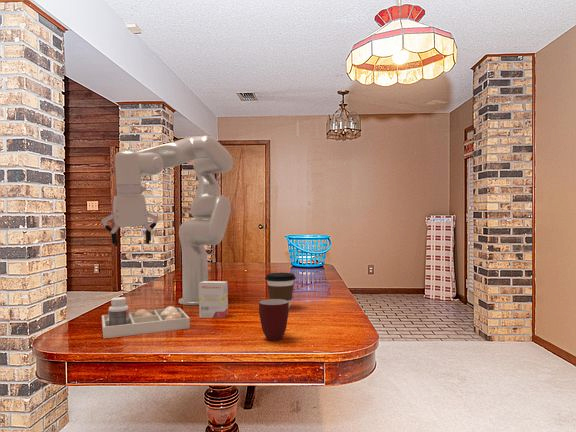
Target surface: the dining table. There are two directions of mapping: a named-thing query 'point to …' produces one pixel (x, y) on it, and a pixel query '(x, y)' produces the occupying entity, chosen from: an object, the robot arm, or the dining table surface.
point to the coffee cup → (280, 286)
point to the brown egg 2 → (173, 315)
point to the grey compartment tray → (145, 324)
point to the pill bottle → (118, 312)
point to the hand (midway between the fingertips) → (131, 244)
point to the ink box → (213, 299)
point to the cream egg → (168, 310)
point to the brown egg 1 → (142, 313)
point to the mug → (273, 317)
